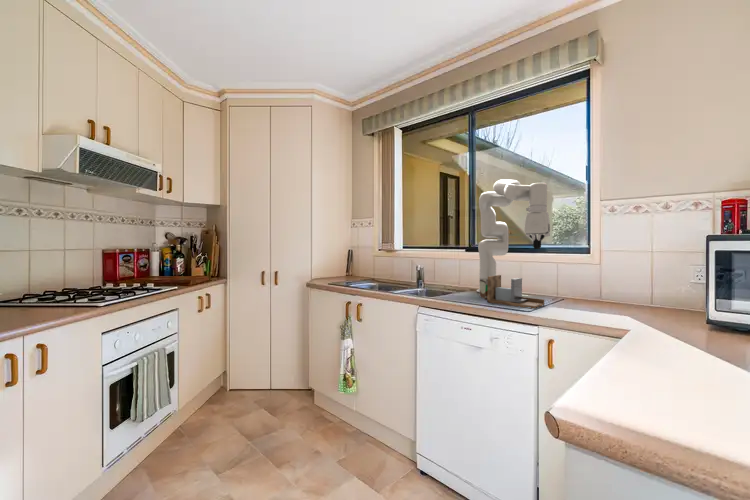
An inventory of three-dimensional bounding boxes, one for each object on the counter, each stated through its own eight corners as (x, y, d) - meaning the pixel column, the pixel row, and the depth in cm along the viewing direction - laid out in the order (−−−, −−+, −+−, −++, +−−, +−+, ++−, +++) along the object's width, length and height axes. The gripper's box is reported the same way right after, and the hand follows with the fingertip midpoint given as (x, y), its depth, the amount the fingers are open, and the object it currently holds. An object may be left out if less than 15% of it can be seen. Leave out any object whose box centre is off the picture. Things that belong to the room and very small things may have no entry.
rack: (498, 299, 184) (499, 274, 183) (544, 305, 167) (544, 278, 167) (487, 302, 175) (487, 276, 175) (534, 308, 159) (534, 280, 159)
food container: (497, 299, 183) (497, 280, 183) (485, 299, 183) (486, 280, 183) (490, 296, 195) (490, 278, 195) (479, 296, 195) (479, 278, 195)
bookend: (518, 299, 174) (518, 277, 174) (527, 300, 171) (528, 278, 171) (510, 301, 168) (511, 279, 168) (520, 303, 165) (520, 279, 165)
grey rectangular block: (499, 298, 179) (499, 287, 179) (516, 300, 173) (516, 288, 173) (495, 299, 177) (495, 287, 176) (513, 301, 170) (513, 289, 170)
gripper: (518, 210, 166) (517, 248, 166) (551, 208, 155) (551, 249, 156) (525, 211, 171) (524, 248, 172) (557, 209, 160) (557, 249, 161)
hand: (537, 249), depth 164 cm, fingers closed
